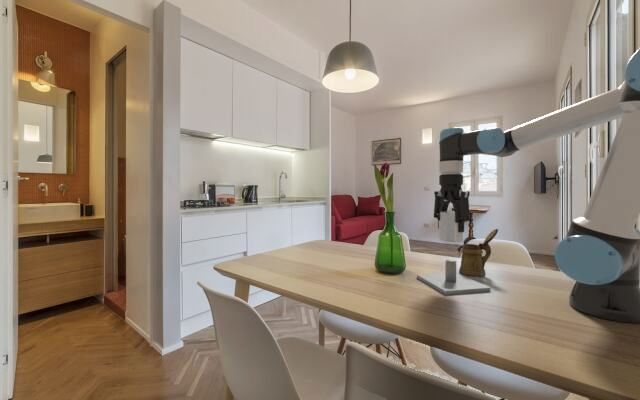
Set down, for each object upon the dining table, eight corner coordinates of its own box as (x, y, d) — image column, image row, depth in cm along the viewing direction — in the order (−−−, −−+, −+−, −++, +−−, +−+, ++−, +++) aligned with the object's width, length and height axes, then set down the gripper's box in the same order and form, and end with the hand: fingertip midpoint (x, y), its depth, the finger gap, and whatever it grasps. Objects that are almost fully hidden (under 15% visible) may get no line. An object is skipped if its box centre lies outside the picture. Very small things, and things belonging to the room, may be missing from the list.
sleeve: (465, 241, 97) (465, 212, 97) (450, 242, 95) (450, 212, 95) (450, 238, 103) (451, 211, 103) (436, 239, 101) (436, 211, 101)
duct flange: (490, 291, 92) (490, 266, 92) (445, 294, 89) (445, 269, 89) (455, 275, 110) (455, 254, 109) (416, 277, 107) (416, 256, 107)
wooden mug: (501, 278, 105) (501, 230, 104) (460, 275, 109) (460, 229, 109) (495, 272, 113) (495, 227, 113) (457, 269, 118) (457, 226, 117)
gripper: (483, 172, 90) (482, 244, 91) (439, 175, 109) (438, 235, 110) (465, 172, 88) (464, 245, 89) (423, 175, 106) (422, 236, 107)
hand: (450, 239), depth 99 cm, fingers closed on sleeve, 7 cm apart
